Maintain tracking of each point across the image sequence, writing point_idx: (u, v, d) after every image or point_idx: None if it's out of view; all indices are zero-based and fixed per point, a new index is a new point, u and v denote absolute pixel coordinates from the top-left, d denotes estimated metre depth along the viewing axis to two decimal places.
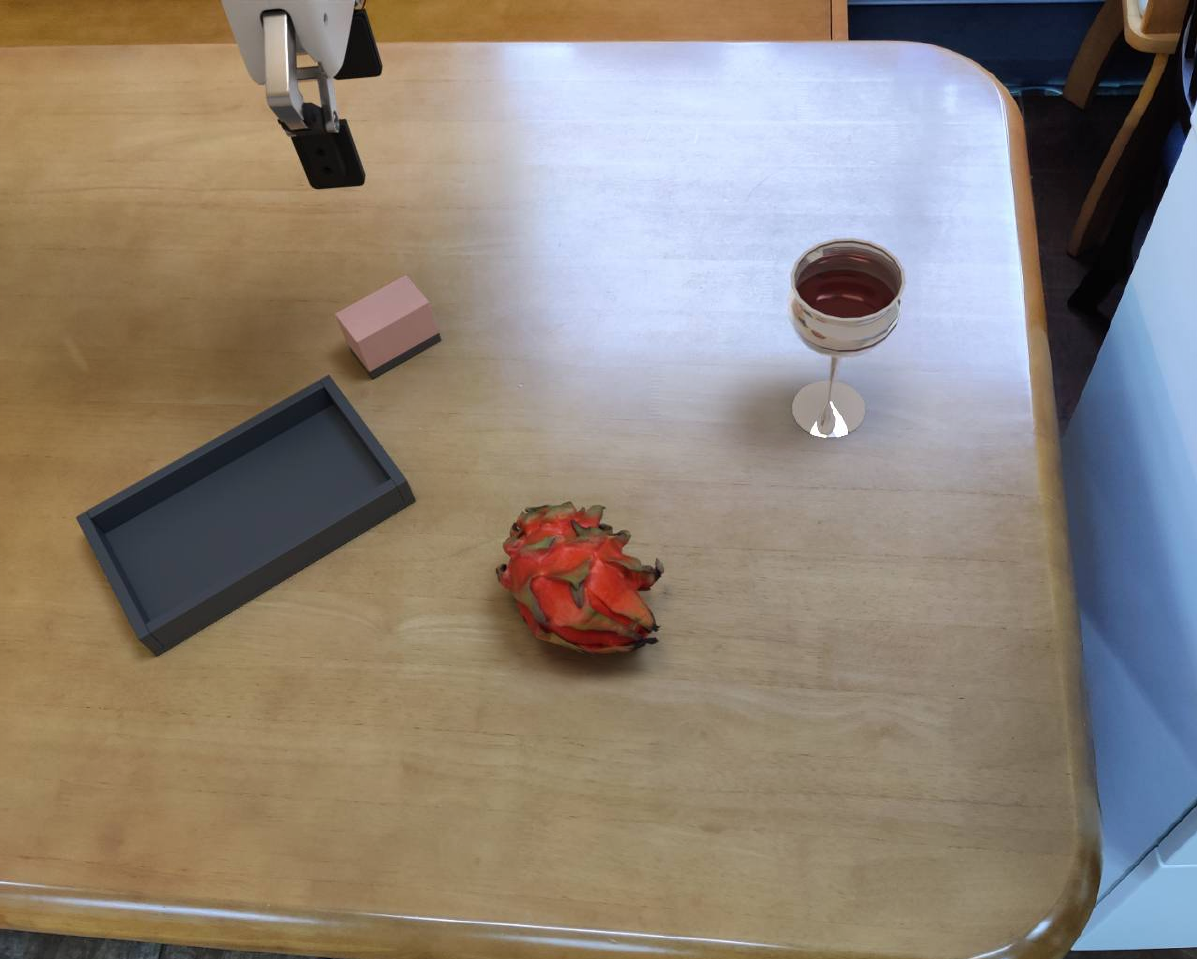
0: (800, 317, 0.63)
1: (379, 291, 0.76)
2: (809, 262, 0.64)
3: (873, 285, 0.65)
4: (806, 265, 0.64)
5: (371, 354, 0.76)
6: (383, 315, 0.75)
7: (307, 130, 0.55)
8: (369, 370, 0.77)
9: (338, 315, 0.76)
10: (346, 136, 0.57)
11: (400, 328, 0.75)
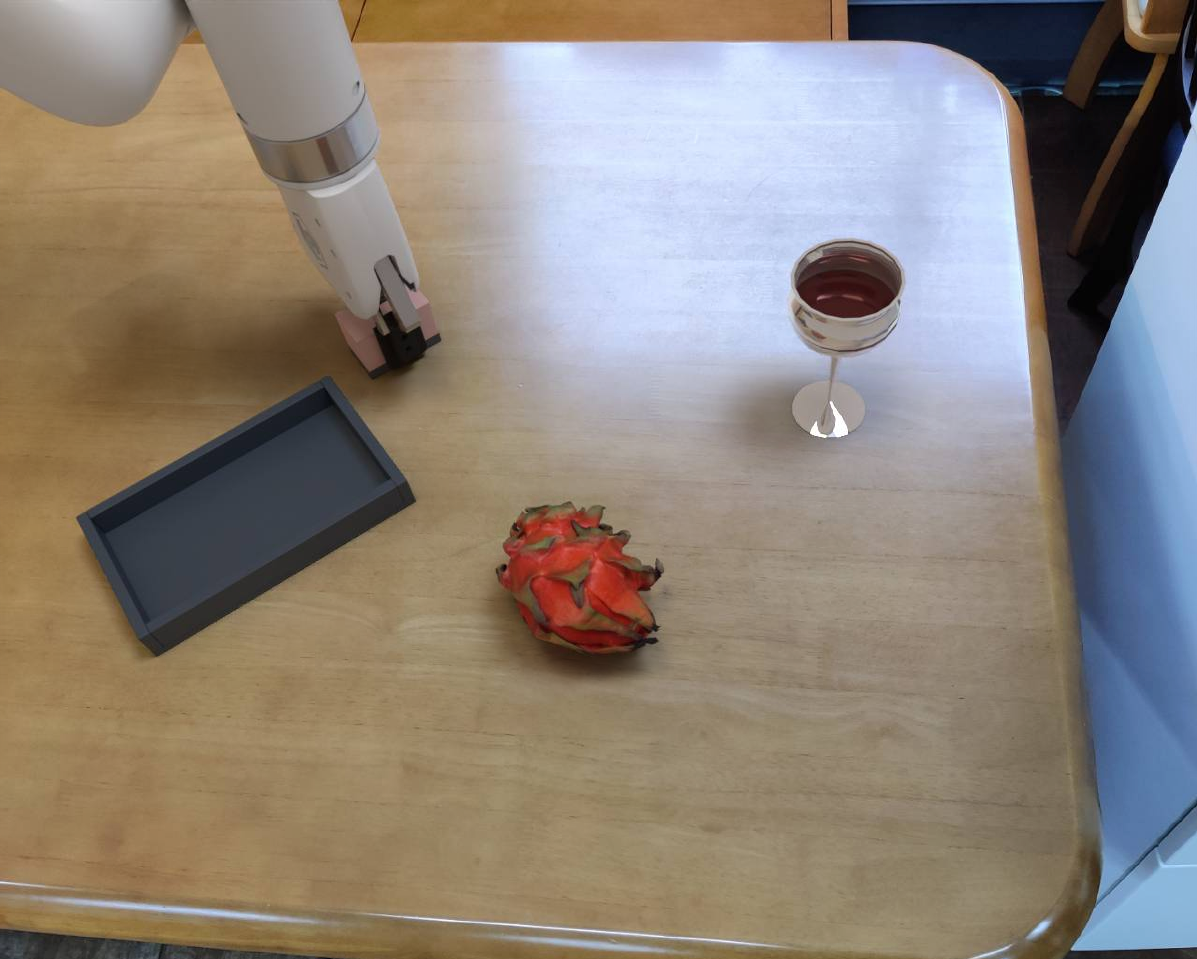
0: (800, 317, 0.63)
1: None
2: (809, 262, 0.64)
3: (873, 285, 0.65)
4: (806, 265, 0.64)
5: (371, 354, 0.76)
6: None
7: None
8: (369, 370, 0.77)
9: (338, 315, 0.76)
10: None
11: None
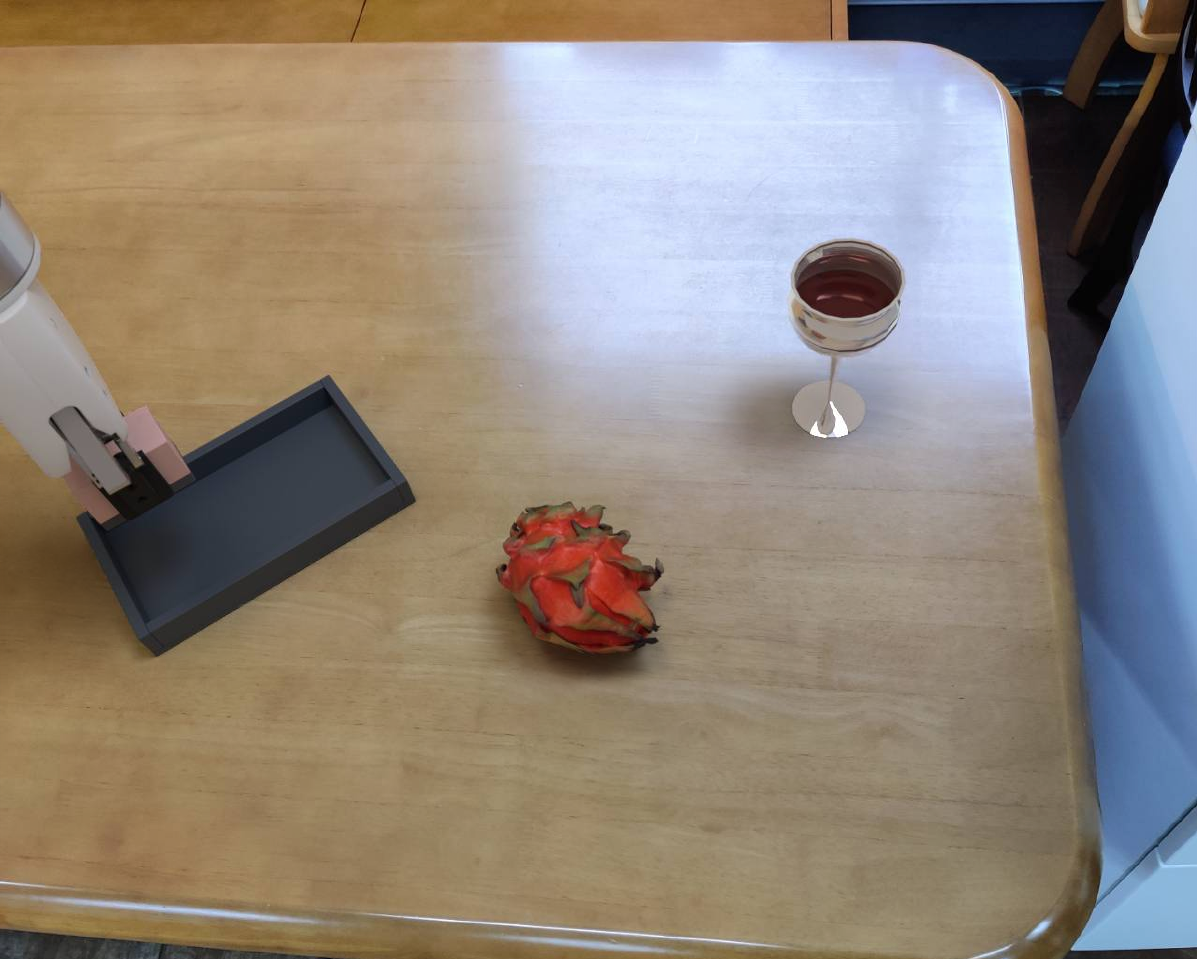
0: (800, 317, 0.63)
1: None
2: (809, 262, 0.64)
3: (873, 285, 0.65)
4: (806, 265, 0.64)
5: (98, 505, 0.62)
6: None
7: None
8: (100, 522, 0.63)
9: None
10: (147, 463, 0.61)
11: None
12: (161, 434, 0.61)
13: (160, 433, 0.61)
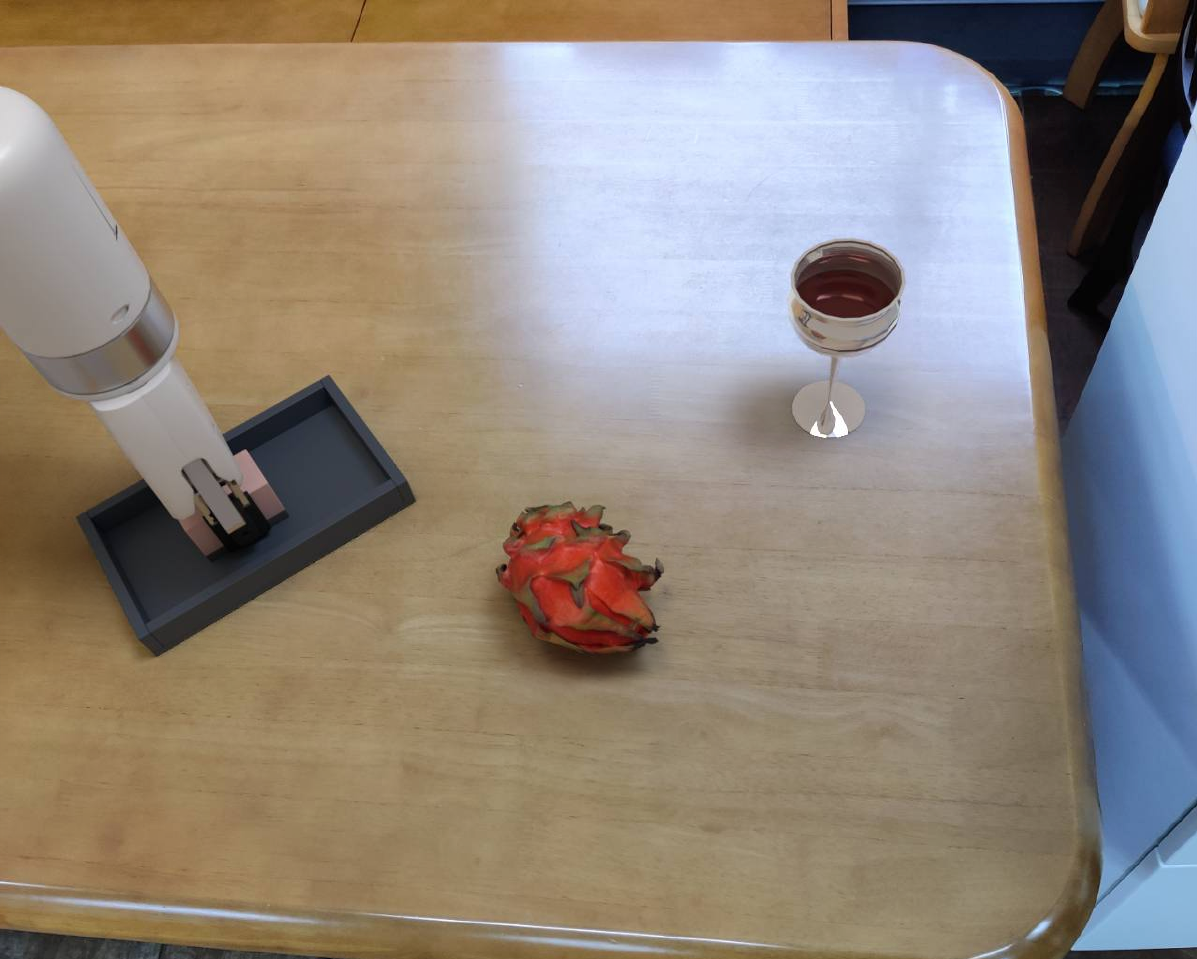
0: (800, 317, 0.63)
1: None
2: (809, 262, 0.64)
3: (873, 285, 0.65)
4: (806, 265, 0.64)
5: (205, 539, 0.69)
6: None
7: None
8: (205, 554, 0.70)
9: None
10: (251, 503, 0.68)
11: None
12: (262, 476, 0.69)
13: (261, 475, 0.69)
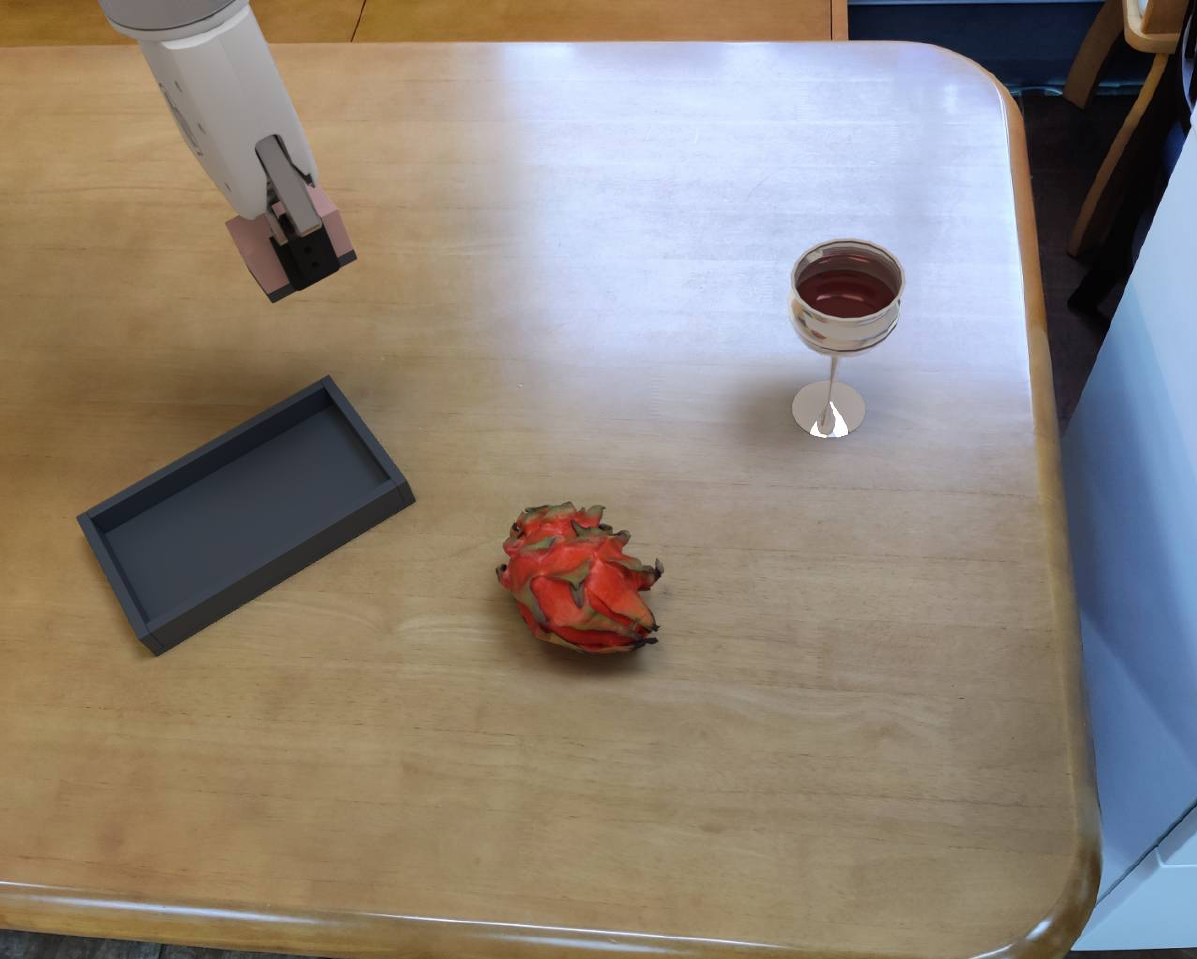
0: (800, 317, 0.63)
1: None
2: (809, 262, 0.64)
3: (873, 285, 0.65)
4: (806, 265, 0.64)
5: (268, 271, 0.63)
6: None
7: None
8: (267, 292, 0.64)
9: (228, 224, 0.63)
10: (322, 228, 0.62)
11: None
12: (331, 202, 0.63)
13: (330, 201, 0.63)
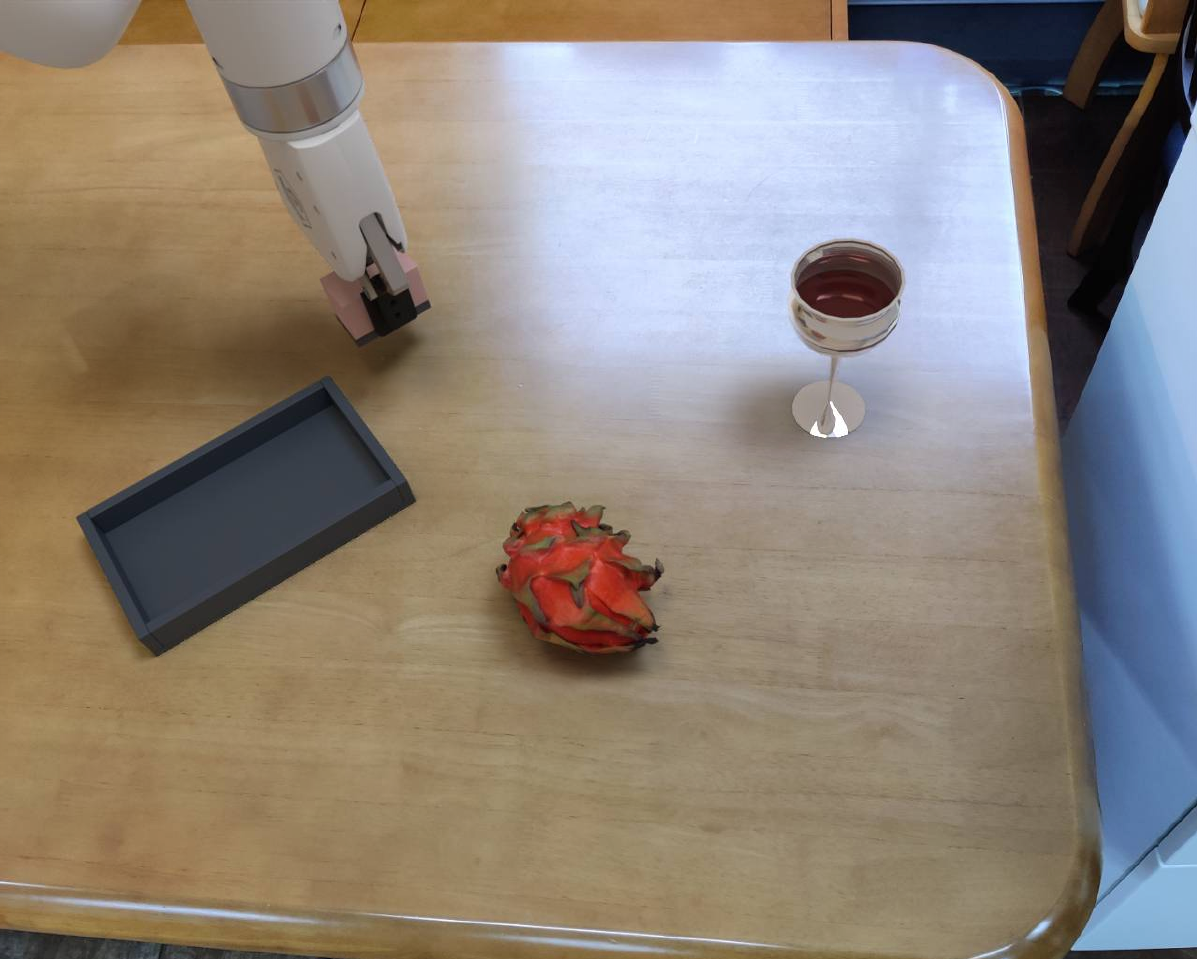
0: (800, 317, 0.63)
1: None
2: (809, 262, 0.64)
3: (873, 285, 0.65)
4: (806, 265, 0.64)
5: (357, 321, 0.73)
6: None
7: None
8: (355, 338, 0.74)
9: (323, 280, 0.72)
10: None
11: None
12: (412, 260, 0.73)
13: (411, 260, 0.73)
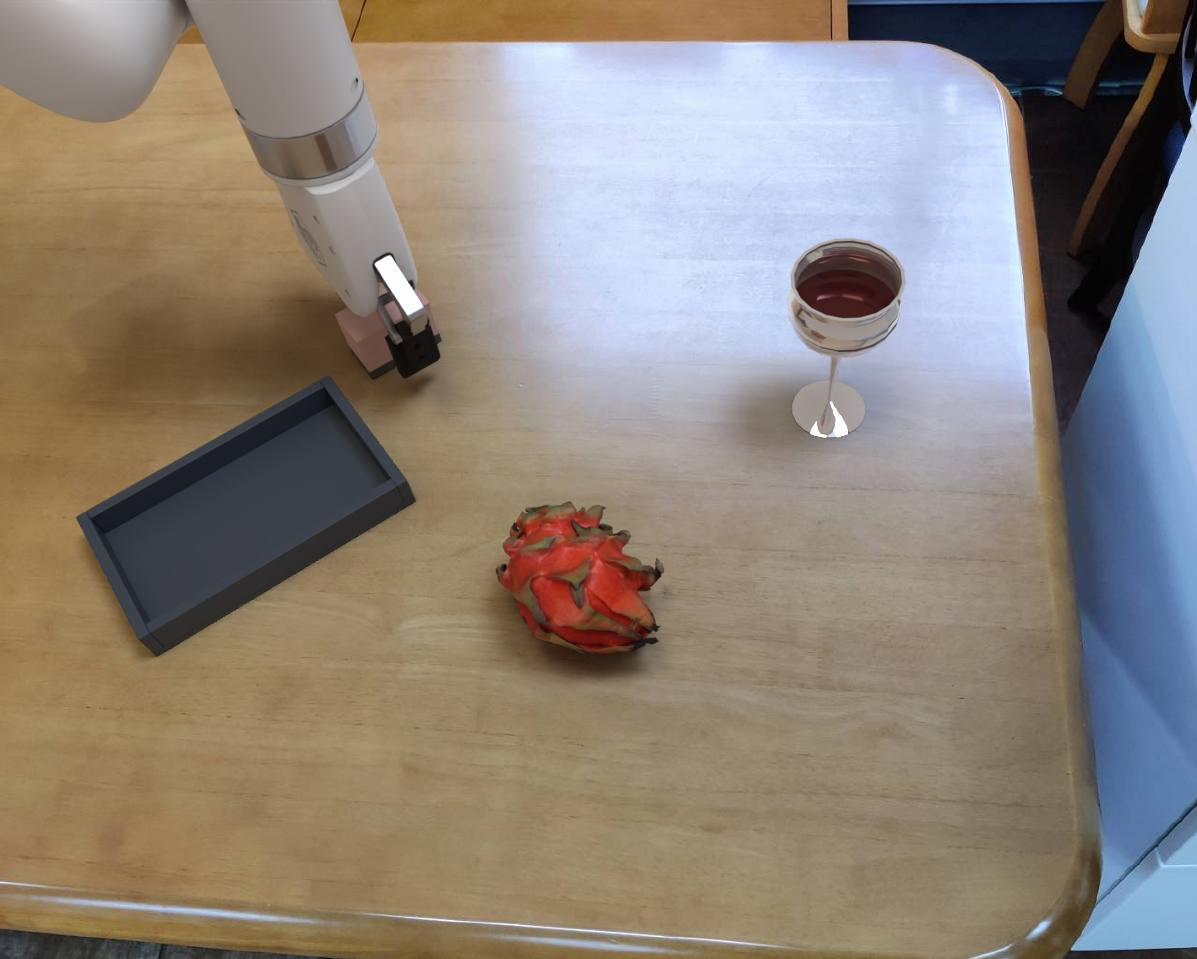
0: (800, 317, 0.63)
1: (379, 291, 0.76)
2: (809, 262, 0.64)
3: (873, 285, 0.65)
4: (806, 265, 0.64)
5: (371, 354, 0.76)
6: None
7: None
8: (369, 370, 0.77)
9: (338, 315, 0.75)
10: (428, 327, 0.72)
11: None
12: (423, 297, 0.76)
13: (422, 296, 0.76)
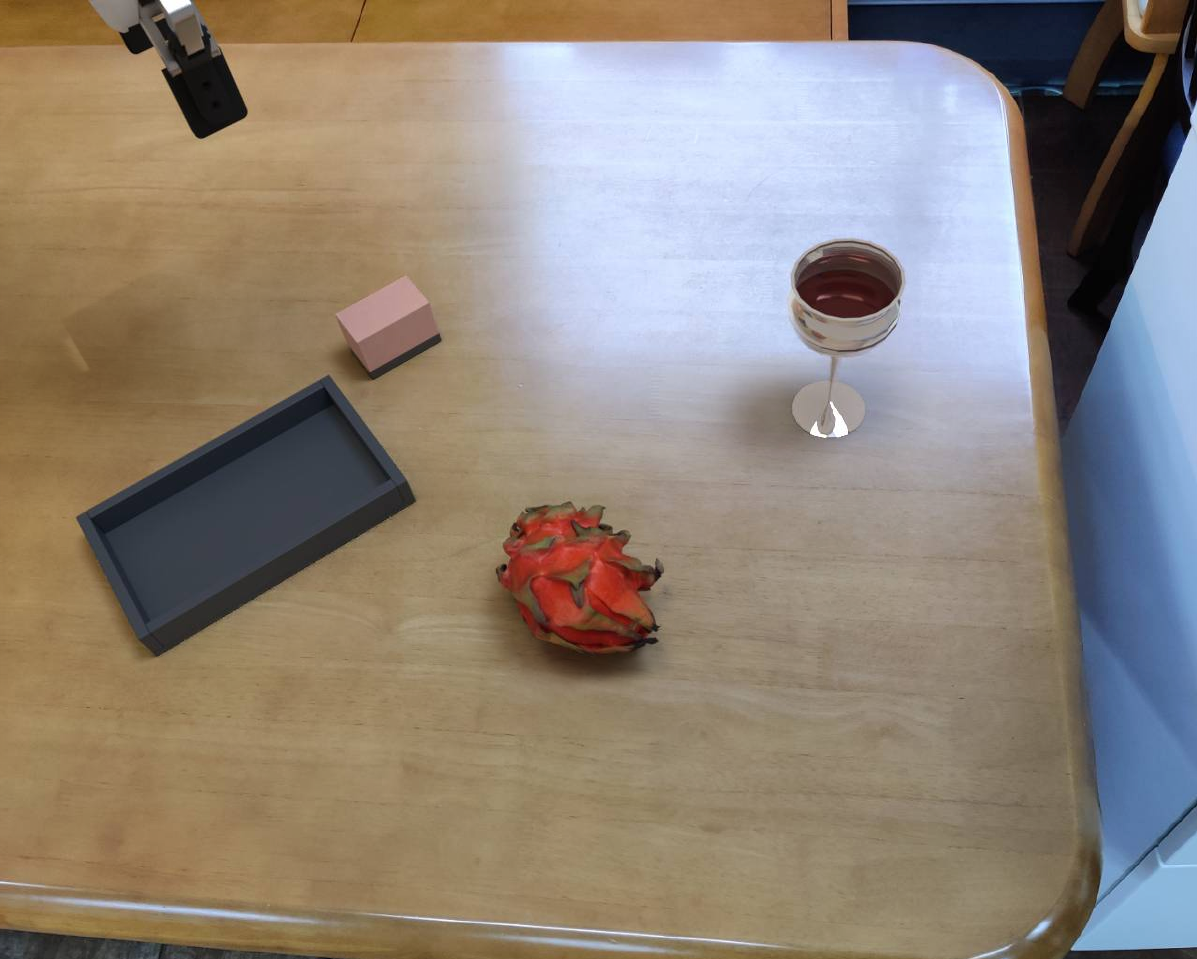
0: (800, 317, 0.63)
1: (379, 291, 0.76)
2: (809, 262, 0.64)
3: (873, 285, 0.65)
4: (806, 265, 0.64)
5: (371, 354, 0.76)
6: (383, 316, 0.75)
7: (199, 55, 0.53)
8: (369, 370, 0.77)
9: (338, 315, 0.75)
10: (223, 61, 0.55)
11: (400, 328, 0.75)
12: (423, 297, 0.76)
13: (422, 296, 0.76)
